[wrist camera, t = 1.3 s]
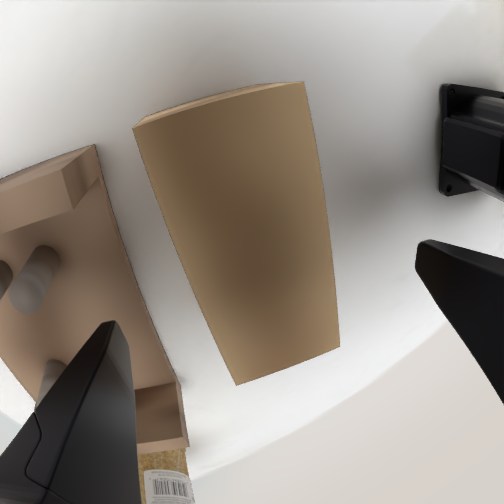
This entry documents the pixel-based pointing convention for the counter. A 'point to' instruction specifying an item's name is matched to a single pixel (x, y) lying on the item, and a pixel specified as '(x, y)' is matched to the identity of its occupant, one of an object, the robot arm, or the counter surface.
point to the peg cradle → (77, 290)
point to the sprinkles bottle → (165, 478)
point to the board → (248, 222)
